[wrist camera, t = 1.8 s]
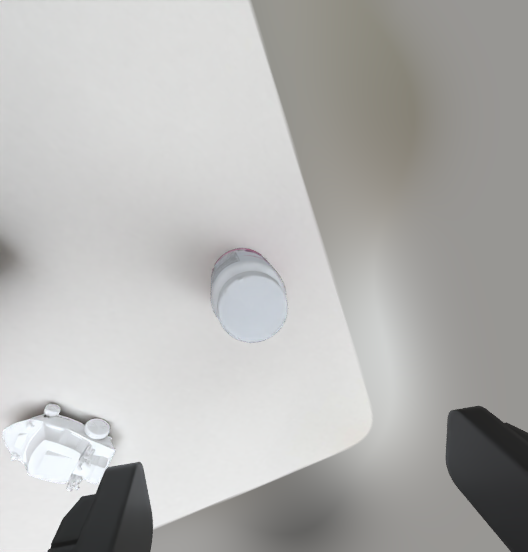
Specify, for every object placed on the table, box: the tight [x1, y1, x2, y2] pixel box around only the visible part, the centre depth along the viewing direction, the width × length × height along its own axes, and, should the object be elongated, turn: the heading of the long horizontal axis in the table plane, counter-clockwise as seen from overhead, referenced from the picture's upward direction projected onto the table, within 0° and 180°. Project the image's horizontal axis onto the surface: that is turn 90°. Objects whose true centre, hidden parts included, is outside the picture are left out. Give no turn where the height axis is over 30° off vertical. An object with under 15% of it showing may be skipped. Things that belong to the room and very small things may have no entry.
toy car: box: [2, 404, 116, 491], centre depth 27 cm, size 5×8×4 cm, turn 61°
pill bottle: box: [211, 248, 288, 343], centre depth 24 cm, size 5×5×8 cm
